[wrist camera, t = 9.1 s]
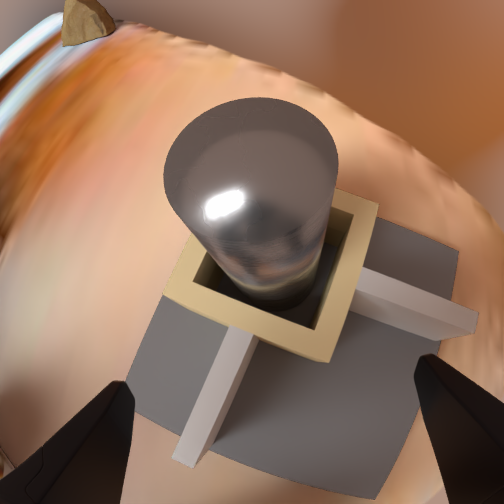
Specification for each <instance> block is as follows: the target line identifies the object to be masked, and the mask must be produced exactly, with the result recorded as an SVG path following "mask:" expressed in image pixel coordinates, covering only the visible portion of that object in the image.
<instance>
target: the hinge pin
mask: <svg viewBox="0 0 504 504" xmlns="http://www.w3.org/2000/svg"><path fill="white" fill-rule="evenodd" d="M337 174H338V153H337V149H336V145H335V143H334V140H333V138H332V136H331V134H330V133H329V131H328V129H327V128H326V127H325V126H324V125H323V123H322V122H321V121H320V120H319V119H318V118H316V117H315V116H314V115H313V114H311V113H310V112H308V111H307V110H305V109H303V108H301V107H300V106H298V105H295V104H292V103H290V102H287V101H283V100H279V99H273V98H261V97H258V98H245V99H238V100H234V101H230V102H227V103H224V104H221V105H218V106H216V107H214V108H212V109H210V110H208V111H206V112H204V113H203V114H201V115H200V116H198V117H197V118H195V119H194V120H193V121H192V122H191V123H190V124H188V125H187V126H186V127H185V128H184V129H183V131H182V132H181V133H180V134H179V135H178V137H177V138H176V139H175V141H174V143H173V145H172V146H171V148H170V150H169V153H168V155H167V158H166V162H165V166H164V174H163V176H164V187H165V193H166V195H167V198H168V201H169V203H170V205H171V206H172V208H173V210H174V211H175V212H176V214H177V215H178V216H179V217H180V219H181V220H182V221H183V222H184V224H185V225H186V226H187V227H188V228H189V230H190V231H191V232H192V233H193V235H194V236H195V237H196V238H197V239H198V241H199V242H200V243H201V244H202V246H203V247H204V248H205V249H206V250H207V252H208V253H209V254H210V255H211V256H212V258H213V259H214V260H215V261H216V262H217V264H218V265H219V266H220V267H221V268H222V270H223V271H224V272H225V273H226V274H227V276H228V277H229V278H230V279H231V280H232V282H233V283H234V284H235V285H236V286H237V287H238V289H239V290H240V291H241V292H242V293H243V295H244V296H245V297H246V298H247V299H248V300H249V301H250V302H251V303H252V304H253V305H255V306H256V307H258V308H261V309H263V310H266V311H273V312H279V311H285V310H289V309H292V308H294V307H295V306H297V305H299V304H300V303H301V302H302V301H304V300H305V298H306V297H307V296H308V295H309V293H310V291H311V289H312V287H313V284H314V281H315V277H316V272H317V268H318V264H319V260H320V256H321V251H322V247H323V242H324V238H325V233H326V229H327V224H328V220H329V215H330V210H331V205H332V200H333V195H334V190H335V185H336V180H337Z"/></svg>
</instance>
